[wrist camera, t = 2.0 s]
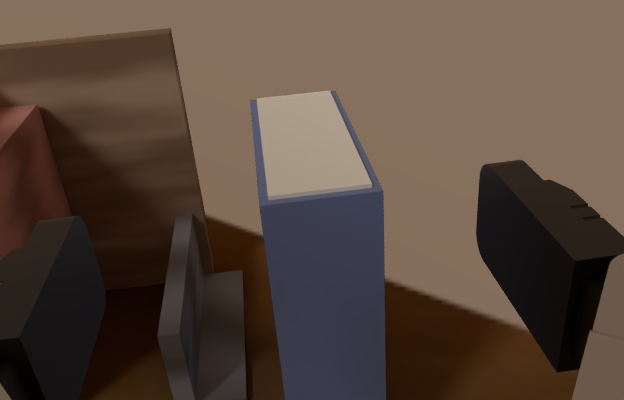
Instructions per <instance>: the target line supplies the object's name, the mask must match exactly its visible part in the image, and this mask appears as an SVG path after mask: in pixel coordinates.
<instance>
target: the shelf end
mask: <svg viewBox="0 0 624 400" xmlns="http://www.w3.org/2000/svg"><path fill="white" fill-rule="evenodd" d="M72 216H80V217H81V218H82V219H83V220H84V222H85V224H86V227H87V230H88V233H89V236H90V240H91V243H92V246H93V249H94V252H95V256H96V259H97V262H98V265H99V268H100V272H101V275H102V278H103V282H104V286H105V291H109V290H117V289H125V288H132V287H140V286H148V285H156V284H163V283H165V290H164V296H163V302H162V309H161V315H160V322H159V328H158V335H157V338H158V342H159V346H160V349H161V353H162V357H163V361H164V365H165V368H166V372H167V376H168V380H169V384H170V388H171V391H172V395H173V399H174V400H247V383H246V353H245V322H244V291H243V271H242V270H236V271H228V272H220V273H214V270H215V266H214V260H213V255H212V250H211V244H210V239H209V233H208V228H207V223H206V217H205V212H204V206H203V201H202V195H201V190H200V185H199V179H198V174H197V168H196V164H195V158H194V153H193V147H192V141H191V136H190V130H189V125H188V120H187V114H186V109H185V103H184V99H183V93H182V87H181V82H180V76H179V71H178V66H177V60H176V55H175V49H174V44H173V38H172V34H171V29H170V28H168V29H158V30H148V31H138V32H128V33H118V34H107V35H97V36H87V37H76V38H66V39H56V40H46V41H36V42H26V43H16V44H5V45H0V260H1V259H2V258H3V257H4V256H6V255H7V254H8V253H9V252H11V251H12V250H13V249H18V248H23V246H24V245H25V243H26V241H27V239H28V238H29V236H30V234H31V232H32V231H33V229H34V227H35V225H36V224H37V222H38V221H41V220H48V219H56V218H64V217H72Z"/></svg>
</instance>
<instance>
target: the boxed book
mask: <svg viewBox="0 0 624 400" xmlns="http://www.w3.org/2000/svg"><path fill="white" fill-rule="evenodd" d="M250 104H251V115H252V127H253V138H254V148H255V161H256V172H257V183H258V195H259V205H260V213H261V220H262V228H263V236H264V244H265V251H266V259H267V266H268V274H269V281H270V289H271V297H272V304H273V312H274V319H275V327H276V334H277V342H278V349H279V357H280V364H281V372H282V380H283V387H284V395H285V400H386V352H385V279H384V209H383V208H384V207H383V190H382V187H381V185H380V183H379V181H378V179H377V177H376V175H375V173H374V171H373V168H372V166H371V164H370V162H369V160H368V158H367V156H366V154H365V152H364V150H363V148H362V146H361V143H360V141H359V139H358V137H357V135H356V133H355V131H354V129H353V127H352V125H351V123H350V121H349V119H348V116H347V114H346V112H345V110H344V108H343V106H342V104H341V102H340V100H339V98H338V95H337V93H336V92H335V91H323V92H313V93H304V94H294V95H285V96H277V97H267V98H258V99H257V100H250Z"/></svg>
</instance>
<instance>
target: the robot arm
mask: <svg viewBox="0 0 624 400" xmlns="http://www.w3.org/2000/svg"><path fill="white" fill-rule="evenodd" d="M476 235H477V243H478V248H479V251H480V254H481V257H482V259H483V261H484V262H485V264H486V265H487V267H488V268H489V270H490V271H491V273H492V275H493V276H494V278H495V279H496V281H497V282H498V284H499V285H500V287H501V288H502V290H503V291H504V293H505V294H506V296H507V297H508V299H509V300H510V302H511V303H512V305H513V306H514V308H515V309H516V311H517V313H518V314H519V316H520V317H521V319H522V320H523V322H524V323H525V325H526V326H527V328H528V329H529V331H530V332H531V334H532V335H533V337H534V338H535V340H536V341H537V343H538V344H539V346H540V348H541V349H542V351H543V352H544V354H545V355H546V357H547V358H548V360H549V361H550V363H551V364H552V366H553V367H554V369H555V370H556V372H564V371H570V370H577V369H580V370H579V374H578V377H577V381H576V385H575V389H574V393H573V396H572V400H624V237H623V236H622V235H621V234H620V233H619V232H618V231H617V230H616V229H615V228H614V227H612V226H611V225H610V224H609V223H608V222H607V221H606V220H605V219H604V218H600V215H599V214H598V213H597V212H596V211H595V210H594V209H593V208H592V207H588V204H587V203H586V202H585V201H584V200H583V199H582V198H581V197H580V196H579V195H577V194H576V193H575V192H574V191H573V190H571V189H569V188H567V187H565V186H562V185H560V184H558V183H556V182H554V181H552V180H545V181H544V180H543V179H542V178H540V176H539V175H537V174H536V173H535V172H534V171H533V170H532V169H531V168H530V167H529V166H528V165H527V164H526V163H525V162H524V161H522V160H515V161H508V162H501V163H492V164H485V165H484V166H483V167H482V169H481V172H480V179H479V196H478V212H477V229H476ZM105 304H106V295H105V286H104V282H103V278H102V275H101V272H100V268H99V265H98V262H97V259H96V256H95V252H94V249H93V246H92V243H91V240H90V236H89V233H88V230H87V227H86V224H85V222H84V220H83V219H82V218H81V217H80V216H72V217H64V218H56V219H48V220H41V221H38V222H37V224H36V225H35V227H34V229H33V231H32V232H31V234H30V236H29V238H28V239H27V241H26V243H25V245H24V246H23V248H18V249H13V250H12V251H11V252H9V253H8V254H7V255H6V256H4V257H3V258H2V259H1V260H0V400H79V397H80V393H81V390H82V386H83V383H84V380H85V376H86V373H87V369H88V366H89V363H90V359H91V356H92V352H93V349H94V346H95V342H96V339H97V335H98V332H99V329H100V325H101V322H102V318H103V315H104V311H105Z"/></svg>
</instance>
